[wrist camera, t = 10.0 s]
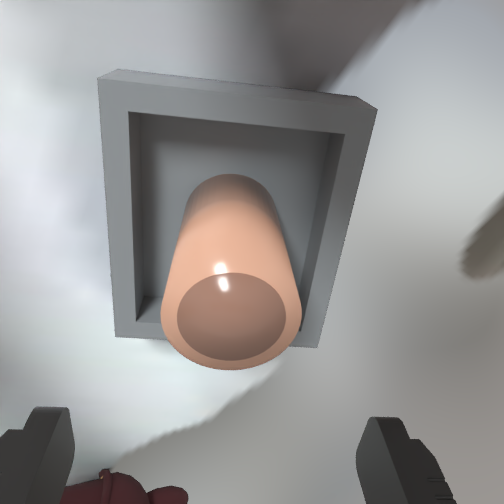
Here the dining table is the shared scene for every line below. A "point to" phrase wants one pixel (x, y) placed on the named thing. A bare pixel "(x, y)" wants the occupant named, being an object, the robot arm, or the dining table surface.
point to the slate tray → (224, 162)
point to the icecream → (120, 492)
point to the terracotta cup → (230, 278)
